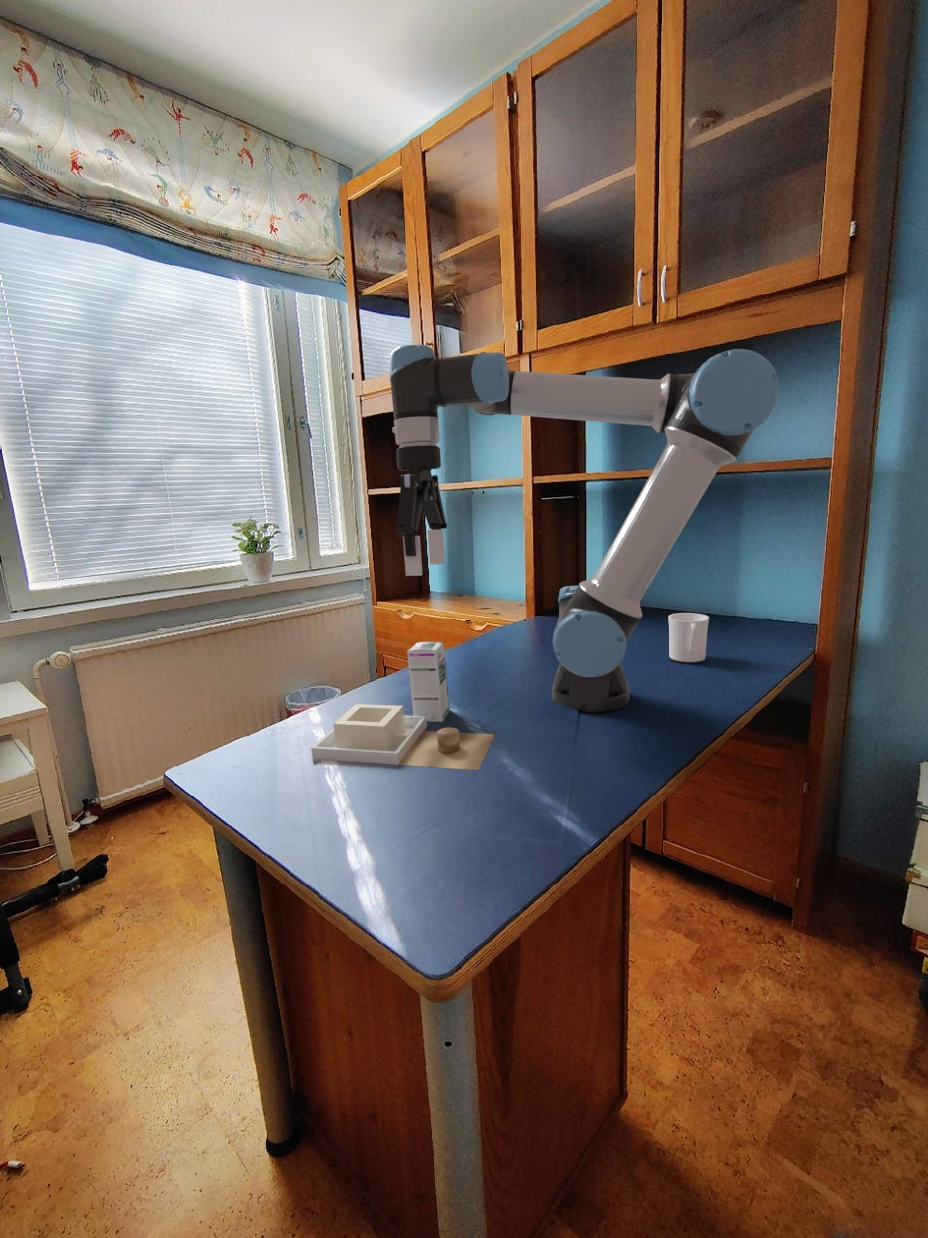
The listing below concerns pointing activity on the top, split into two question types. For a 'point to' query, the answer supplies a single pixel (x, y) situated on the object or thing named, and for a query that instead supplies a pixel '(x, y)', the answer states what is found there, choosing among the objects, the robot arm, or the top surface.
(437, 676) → the syrup box
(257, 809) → the top surface
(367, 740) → the cream hollow block
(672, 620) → the mug
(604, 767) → the top surface
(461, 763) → the tan square lid
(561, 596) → the robot arm
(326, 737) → the tray
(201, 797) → the top surface
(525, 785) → the top surface
